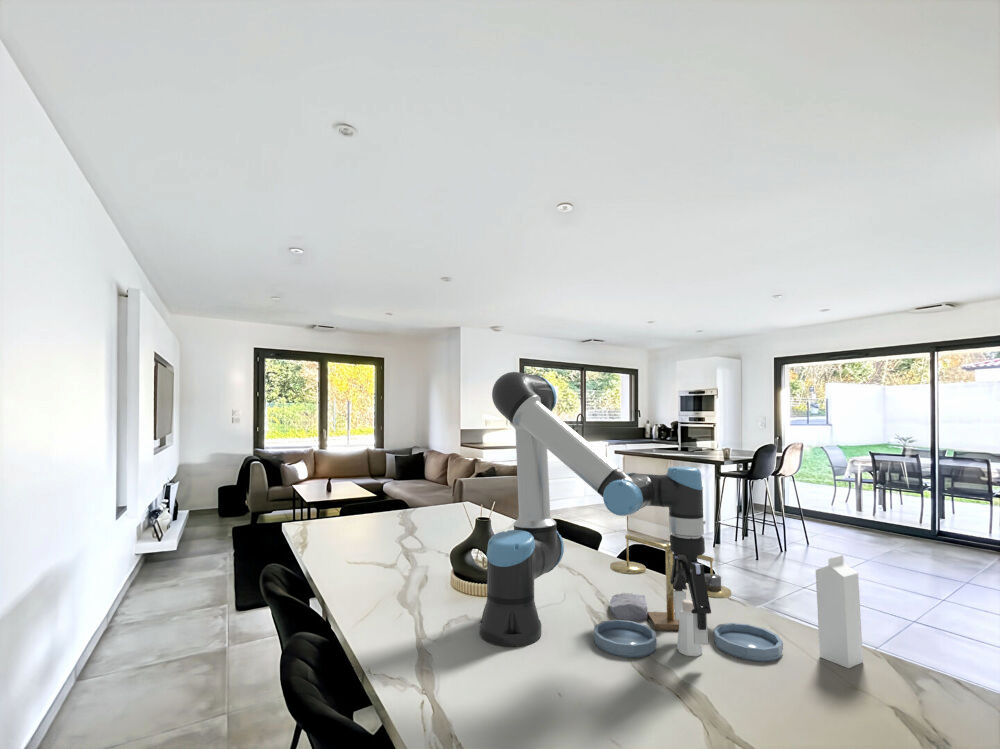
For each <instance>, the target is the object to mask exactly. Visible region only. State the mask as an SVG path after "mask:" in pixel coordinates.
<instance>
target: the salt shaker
mask: <svg viewBox="0 0 1000 749" xmlns="http://www.w3.org/2000/svg"><path fill="white" fill-rule="evenodd" d="M682 604H683V610H682V611H680V622H679V631H678V636H677V650H678V652H679V653H680V654H681V655H682V654H683V655H685V656H687V657H695V658H697V657H700V656H702V655H703V649H702V648H703V647H702V645H699V644H694V632H693V613H692V612H691V611H692V609H694V606H693V602H692V599H689V598H688V599H687V598H686V599H685V600H683V601H682Z"/></svg>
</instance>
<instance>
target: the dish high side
mask: <svg viewBox="0 0 1000 749" xmlns="http://www.w3.org/2000/svg"><path fill="white" fill-rule="evenodd" d="M593 627H594V630H593V640H594V641H593V642H594V645H595V646H596V647H597V648H598V649H599V650H602V651H603V652H604V653H607V654H610V655H612V656H616V657H621V658H622V657H623V658H632V659H633V658H642V657H643V658H644V657H647V656H650V655H652V654H654V653H655V651H656V650H657V635H656V630H655V629H654V630H653V629H652V628H650V627H649V626H648V625H646V624H643V623H639V622H636V621H633V620H627V619H610V620H603V621H601V622H599V623H597V624H595V625H594V626H593Z"/></svg>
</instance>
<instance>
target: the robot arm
mask: <svg viewBox="0 0 1000 749" xmlns="http://www.w3.org/2000/svg"><path fill="white" fill-rule="evenodd" d="M491 398H492V402H493V404H494V407H495V408H496V410H498V412H499V413H500V414H501V415H502V416H503V418H505V419H506V420H508V421H509V424H510V426H511V427H513V428H514V430H515V449H516V451H515V452H516V472H517V474H516V475H517V476H516V477H517V478H516V480H517V498H518V500H517V501H518V502H517V503H518V517H517V519H516V520H515V521H514V522H513V529H509V530H506V531H504V530H503V531H500V532H496V533H495V534H493V535H492V536H491V537H490V538H489V539H488V541H487V542H488V543H487V550H486V563H487V564H486V567H487V568H486V570H487V571H486V575H487V576H486V578H487V579H486V601H485V605H484V608H483V612H482V616H481V619H480V622H479V636H480V637H481V639H483V641H486V642H487V643H490V644H493V645H495V646H501V647H502V646H503V647H520V646H527V645H530V644H533V643H535V642H536V641H539V640H540V638H541V637H542V622H541V620H540V618H539V614H538V611H537V606H536V602H535V580H536V579H538V578H539V577H541V576H543V575H545V574H547V573H550V572H551V571H552V570H554V569H555V568H556V567H557V565H559V564H560V562H561V561H562V558H563V556H564V551H565V547H564V546H565V544H564V539H563V537H562V535H561V534H560V533H559V531H558V530H557V528H558V527H557V521H556V520H554V519H553V517H552V516H551V505H550V502H551V500H550V483H549V482H550V480H549V463H548V462H549V461H548V451H549V452H550V453H552V454H553V456H555V457H556V458H558V460H560V462H562V463H563V464H564V465H565V466H566V467H567V468H569V469H570V470H571V471H572V472H573V473H575V474H576V475H577V476H578V477H579V478H580V479H582V481H584V482H585V484H587V485H588V486H590V487H591V488H592V490H594V491H595V493H597V494H598V495H600V496H601V497H602V501H603V503H604V506H605V507H606V509H607V510H608V511H609V512H610V513H612V514H613V515H616V516H623V517H625V516H630V515H632V514H635V513H637V512H638V511H639V510H641V509H643V508H644V507H645V508H646V507H661V508H668V525H669V526H668V529H669V533H670V535H669V543H670V549H671V551H672V552H673V566H672V574H671V581H670V582H671V584H673V589H674V613H675V619H676V620H680V611H682V610H683V604H682V601H683V600H685V599H687V590H688V588H689V594H690V597H691V600H692V602H693V606H694V609H692V611H691V612H692V613H693V632H694V644H699V645H701V646H702V645H703V646H704V645H706V646H708V645H709V640H708V639H709V638H708V633H709V632H708V614H711V613H712V608H711V603H710V600H709V599H710V597H708V592H707V587H706V582H705V576H704V574H705V566H704V564H703V563H699V562H698V558H697V556H699V555H705V553H706V546H705V537H704V534H705V531H704V530H705V528H704V525H706V523H707V522H706V520H705V519H704V495H703V494H704V491H703V490H704V487H703V481H702V473H701V470H700V469H699V468H697V467H693V466H670V467H668V468H667V473H666V474H653V473H652V474H651V473H637V472H625V471H623V470H622V469H621V468H620V467H619V466H617V464H615V463H614V462H613V461H612V460H611V459H609V458H608V457H607V456H606V455H605V454H603V453H602V452H601V451H600V450H598V449H597V448H596V447H595V446H593V444H591V443H590V442H589V441H587V439H585V438H584V437H583V436H582V435H580V434H579V433H578V432H576V431H575V429H573V428H572V427H571V426H570V425H568V424H567V423H566V422H565V421H563V420H562V419H561V418H560V417H559V416H557V415H556V414H555V413H554V412H553V409H555V407H556V404H557V391H556V388H555V387H554V385H553V384H552V382H550V381H549V380H548V379H547V378H544V377H543V376H541V375H539V374H531V373H530V374H529V373H523V372H518V371H511V372H510V371H509V372H507V373H504V374H502V375H501V376H500V377H499V378H497V379H496V381H495V382H494V384H493V387H492V392H491ZM687 584H688V587H687Z"/></svg>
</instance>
